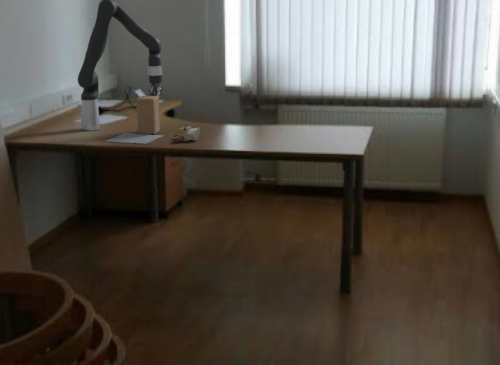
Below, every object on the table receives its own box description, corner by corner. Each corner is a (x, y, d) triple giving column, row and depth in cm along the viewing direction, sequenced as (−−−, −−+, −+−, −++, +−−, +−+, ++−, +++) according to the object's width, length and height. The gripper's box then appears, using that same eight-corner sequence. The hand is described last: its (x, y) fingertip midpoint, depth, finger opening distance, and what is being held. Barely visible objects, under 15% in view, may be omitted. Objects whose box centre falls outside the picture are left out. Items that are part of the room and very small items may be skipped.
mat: (104, 141, 412) (104, 140, 412) (124, 133, 432) (124, 133, 432) (146, 144, 405) (145, 143, 405) (164, 136, 425) (164, 135, 425)
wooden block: (155, 134, 428) (153, 98, 423) (137, 134, 430) (135, 98, 425) (160, 131, 438) (159, 95, 433) (143, 131, 440) (141, 95, 435)
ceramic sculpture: (198, 125, 405) (169, 128, 405) (200, 142, 407) (171, 144, 407) (200, 122, 415) (172, 124, 416) (201, 138, 417) (173, 140, 418)
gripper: (154, 72, 443) (155, 102, 448) (143, 75, 431) (145, 106, 436) (166, 72, 441) (167, 103, 445) (156, 75, 429) (157, 107, 433)
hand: (156, 104), depth 440 cm, fingers closed
